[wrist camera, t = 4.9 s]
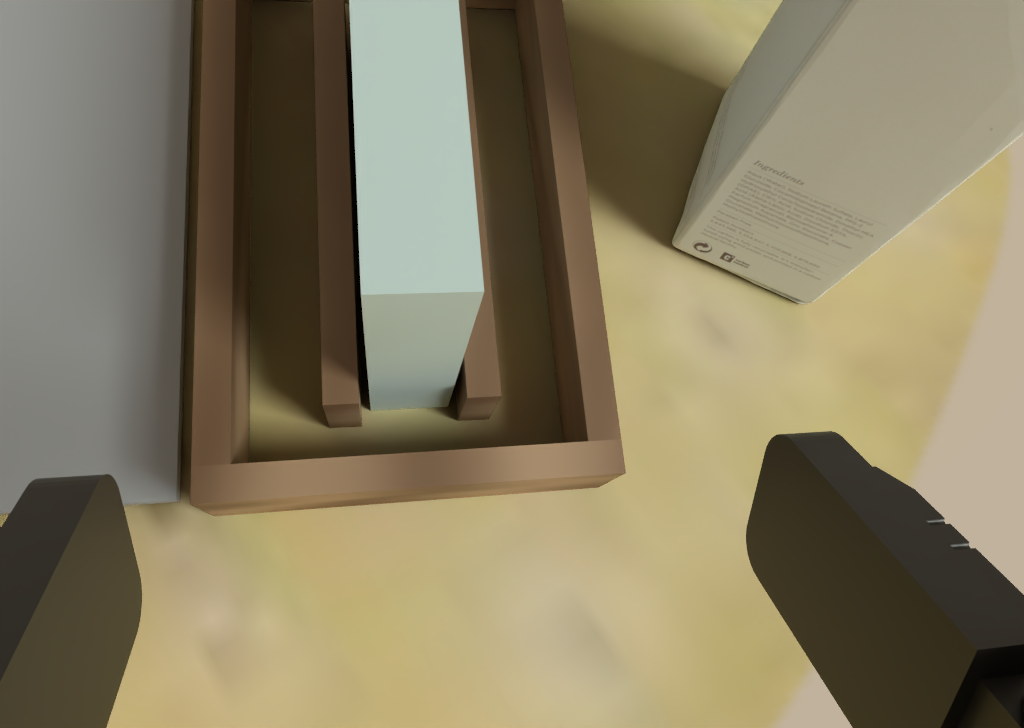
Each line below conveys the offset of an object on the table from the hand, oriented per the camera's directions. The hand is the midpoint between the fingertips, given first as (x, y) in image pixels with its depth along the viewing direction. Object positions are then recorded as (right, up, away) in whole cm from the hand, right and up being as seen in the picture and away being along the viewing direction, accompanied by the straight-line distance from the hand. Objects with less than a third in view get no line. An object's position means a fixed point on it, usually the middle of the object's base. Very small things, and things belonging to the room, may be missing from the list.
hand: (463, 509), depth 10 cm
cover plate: (-3, +7, +17) cm, 19 cm away
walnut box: (-3, +7, +17) cm, 19 cm away
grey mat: (-16, +7, +15) cm, 23 cm away
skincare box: (+10, +9, +20) cm, 24 cm away
